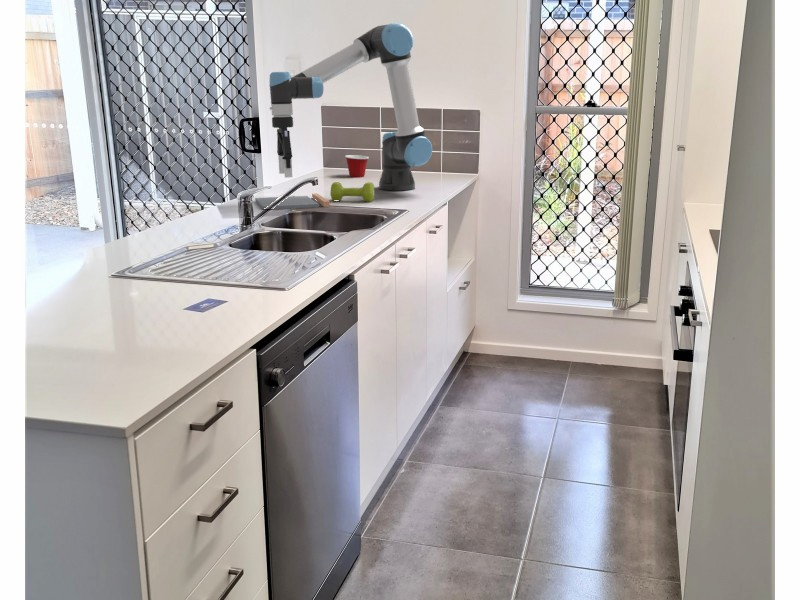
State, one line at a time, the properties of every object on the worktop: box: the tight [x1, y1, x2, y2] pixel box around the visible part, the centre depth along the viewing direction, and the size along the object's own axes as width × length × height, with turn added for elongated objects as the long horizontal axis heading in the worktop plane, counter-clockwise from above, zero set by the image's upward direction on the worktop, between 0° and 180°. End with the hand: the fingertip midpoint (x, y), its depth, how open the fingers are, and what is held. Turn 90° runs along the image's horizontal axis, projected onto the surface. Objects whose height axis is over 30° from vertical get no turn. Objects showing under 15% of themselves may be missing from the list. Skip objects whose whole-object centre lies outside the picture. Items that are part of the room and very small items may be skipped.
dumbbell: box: [330, 181, 375, 203], centre depth 298 cm, size 16×8×7 cm, turn 82°
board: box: [254, 195, 320, 210], centre depth 292 cm, size 20×24×1 cm
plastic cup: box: [344, 154, 370, 179], centre depth 358 cm, size 11×11×12 cm
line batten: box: [311, 192, 330, 208], centre depth 295 cm, size 2×24×2 cm, turn 16°
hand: (285, 175), depth 289 cm, fingers open, 13 cm apart
